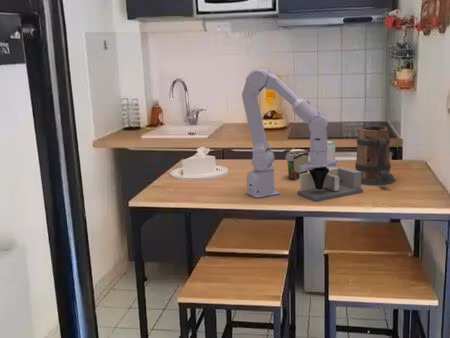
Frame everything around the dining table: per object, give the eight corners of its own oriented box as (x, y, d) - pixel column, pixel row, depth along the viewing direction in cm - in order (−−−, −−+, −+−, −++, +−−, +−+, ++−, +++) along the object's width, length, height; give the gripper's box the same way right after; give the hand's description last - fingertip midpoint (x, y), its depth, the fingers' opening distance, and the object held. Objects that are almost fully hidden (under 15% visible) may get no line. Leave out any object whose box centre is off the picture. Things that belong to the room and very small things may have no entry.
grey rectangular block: (334, 191, 175) (334, 176, 174) (321, 186, 182) (321, 172, 180) (347, 188, 177) (347, 173, 176) (334, 184, 184) (334, 169, 183)
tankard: (345, 175, 202) (345, 125, 198) (387, 173, 202) (388, 123, 198) (361, 191, 179) (361, 135, 175) (408, 189, 179) (410, 132, 175)
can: (316, 171, 211) (316, 143, 208) (319, 168, 217) (319, 140, 214) (333, 172, 208) (333, 143, 205) (336, 168, 215) (336, 140, 212)
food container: (296, 173, 210) (295, 149, 208) (309, 174, 207) (309, 150, 204) (279, 179, 201) (279, 154, 199) (293, 181, 197) (292, 156, 195)
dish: (201, 165, 236) (200, 141, 233) (240, 172, 218) (239, 146, 215) (158, 175, 219) (156, 149, 216) (197, 184, 201) (195, 156, 199)
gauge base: (315, 201, 170) (315, 180, 168) (297, 194, 180) (296, 174, 178) (362, 192, 178) (363, 172, 176) (342, 185, 188) (343, 166, 186)
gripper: (307, 154, 167) (308, 194, 170) (343, 149, 173) (343, 188, 176) (295, 151, 173) (296, 190, 176) (330, 146, 179) (330, 183, 182)
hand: (318, 188), depth 176 cm, fingers closed
